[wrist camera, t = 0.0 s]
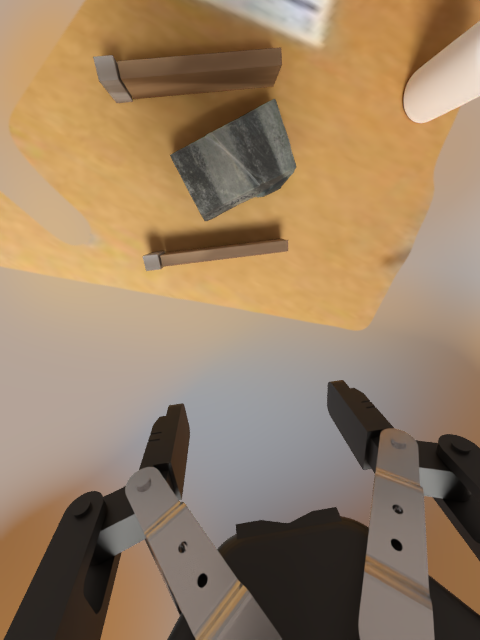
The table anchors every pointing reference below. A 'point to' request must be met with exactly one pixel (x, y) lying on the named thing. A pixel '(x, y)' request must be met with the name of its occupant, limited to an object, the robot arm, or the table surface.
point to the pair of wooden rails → (189, 79)
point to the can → (445, 79)
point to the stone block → (237, 161)
